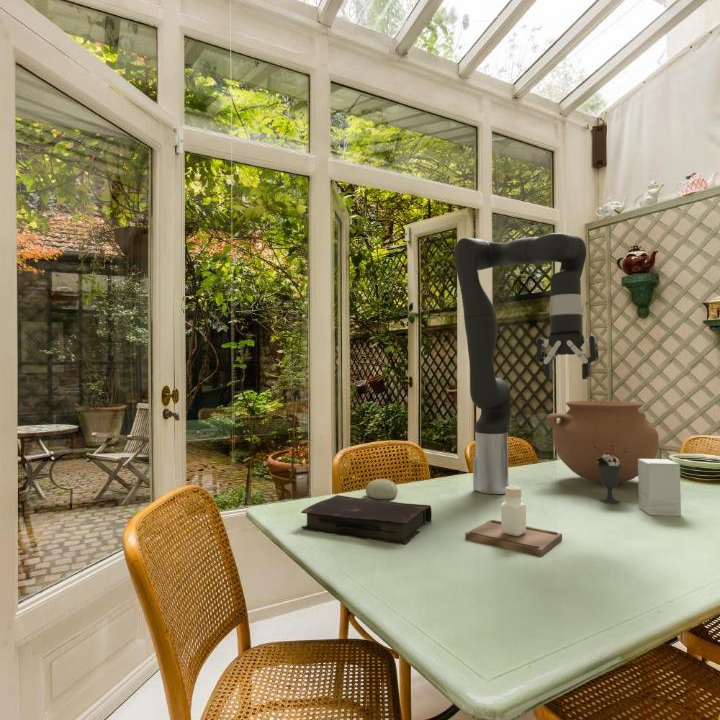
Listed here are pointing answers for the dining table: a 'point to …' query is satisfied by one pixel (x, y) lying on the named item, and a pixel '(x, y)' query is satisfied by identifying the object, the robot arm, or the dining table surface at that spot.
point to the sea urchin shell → (381, 489)
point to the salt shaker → (513, 512)
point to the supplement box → (659, 487)
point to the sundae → (609, 474)
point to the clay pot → (603, 437)
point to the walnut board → (515, 538)
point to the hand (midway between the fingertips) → (567, 379)
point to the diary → (367, 518)
